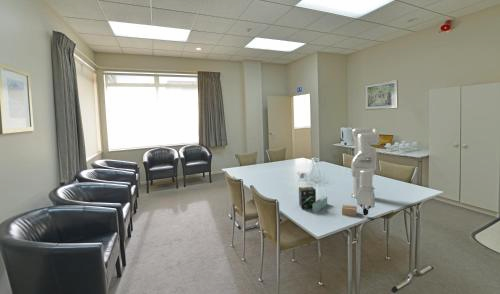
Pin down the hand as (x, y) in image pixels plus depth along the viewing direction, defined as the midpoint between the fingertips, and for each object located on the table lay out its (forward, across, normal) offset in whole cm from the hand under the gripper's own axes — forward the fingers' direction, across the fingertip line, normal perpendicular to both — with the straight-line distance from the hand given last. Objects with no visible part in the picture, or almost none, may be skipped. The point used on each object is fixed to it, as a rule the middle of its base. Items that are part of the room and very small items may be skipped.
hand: (365, 214), depth 162 cm
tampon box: (+2, +40, +4) cm, 41 cm away
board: (+2, +32, +1) cm, 32 cm away
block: (+2, +10, 0) cm, 11 cm away
